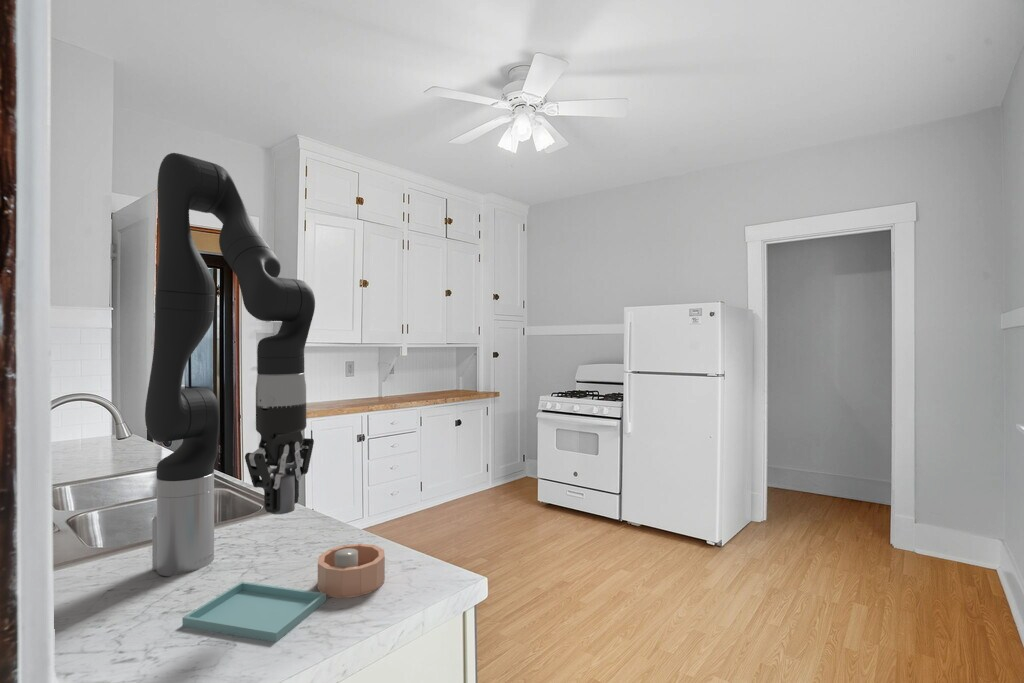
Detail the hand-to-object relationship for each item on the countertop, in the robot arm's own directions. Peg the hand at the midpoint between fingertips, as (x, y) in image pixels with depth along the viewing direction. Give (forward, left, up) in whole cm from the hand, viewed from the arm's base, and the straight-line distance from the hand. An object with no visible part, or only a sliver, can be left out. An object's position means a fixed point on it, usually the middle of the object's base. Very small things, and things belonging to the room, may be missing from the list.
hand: (282, 507), depth 88 cm
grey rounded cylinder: (0, 0, -1) cm, 1 cm away
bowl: (+8, +8, -16) cm, 19 cm away
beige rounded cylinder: (+8, +7, -15) cm, 18 cm away
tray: (-1, -5, -16) cm, 16 cm away
